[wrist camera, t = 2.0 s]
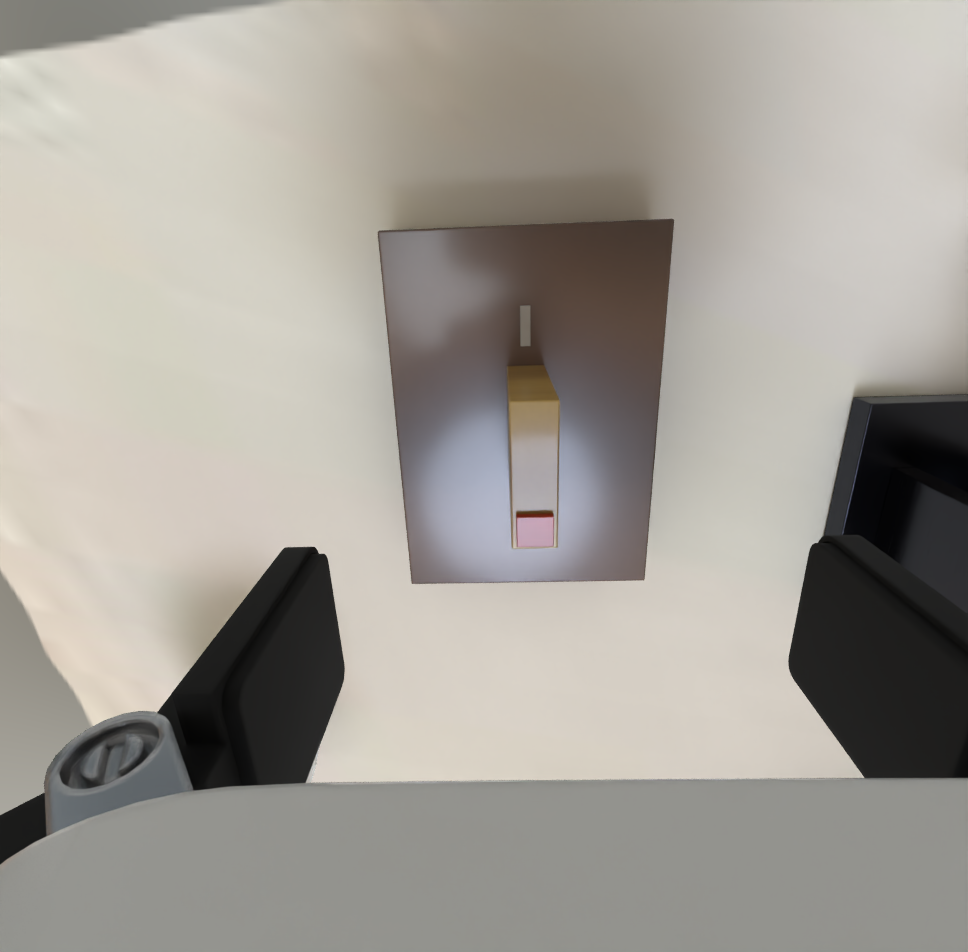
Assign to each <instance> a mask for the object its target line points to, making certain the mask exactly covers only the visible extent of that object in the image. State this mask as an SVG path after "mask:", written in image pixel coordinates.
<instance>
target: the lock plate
mask: <svg viewBox="0 0 968 952" xmlns="http://www.w3.org/2000/svg"><path fill="white" fill-rule="evenodd" d="M673 228H674V219H655V220H631V221H606V222H581V223H557V224H532V225H507V226H483V227H458V228H433V229H409V230H384V231H378V241H379V251H380V262H381V272H382V282H383V293H384V303H385V313H386V323H387V334H388V344H389V354H390V365H391V375H392V385H393V396H394V406H395V416H396V427H397V437H398V447H399V457H400V468H401V478H402V488H403V499H404V509H405V519H406V530H407V540H408V550H409V561H410V571H411V581H412V584H437V583H500V582H563V581H626V580H644V579H645V567H646V555H647V543H648V531H649V518H650V506H651V494H652V482H653V470H654V458H655V446H656V434H657V422H658V410H659V398H660V385H661V373H662V361H663V349H664V337H665V325H666V313H667V301H668V289H669V277H670V264H671V252H672V240H673ZM529 365H544V366H545V368H546V370H547V373H548V375H549V377H550V379H551V382H552V384H553V386H554V389H555V391H556V393H557V395H558V398H559V400H560V437H559V502H558V547H557V548H535V549H512V544H511V520H510V496H509V463H508V414H507V366H529Z"/></svg>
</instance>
